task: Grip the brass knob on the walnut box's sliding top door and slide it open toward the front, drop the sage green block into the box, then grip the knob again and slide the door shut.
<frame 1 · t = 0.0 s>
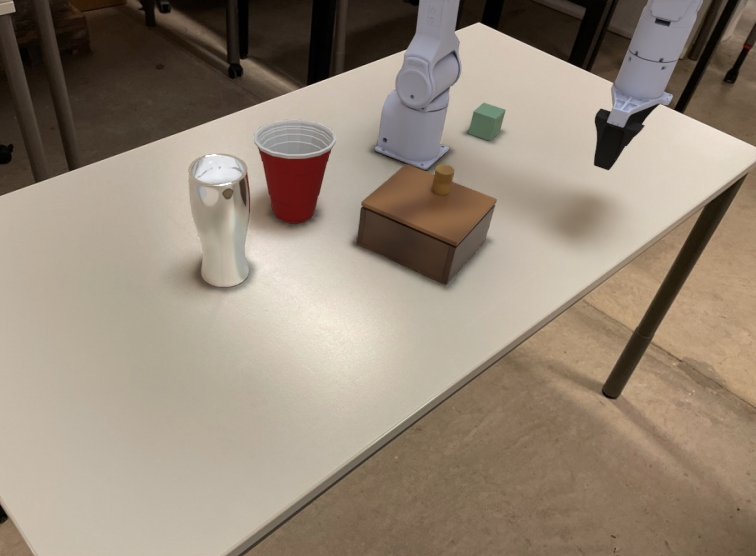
hand: (611, 154, 88), 10 cm above the table, tool pointing down, fingers open, 7 cm apart
box: (421, 242, 90), on the table
lid: (431, 192, 84), point 8 cm above the table, slide at 0.0 cm
beer glass: (225, 272, 84), on the table
plastic cup: (293, 212, 94), on the table
block: (484, 132, 111), on the table
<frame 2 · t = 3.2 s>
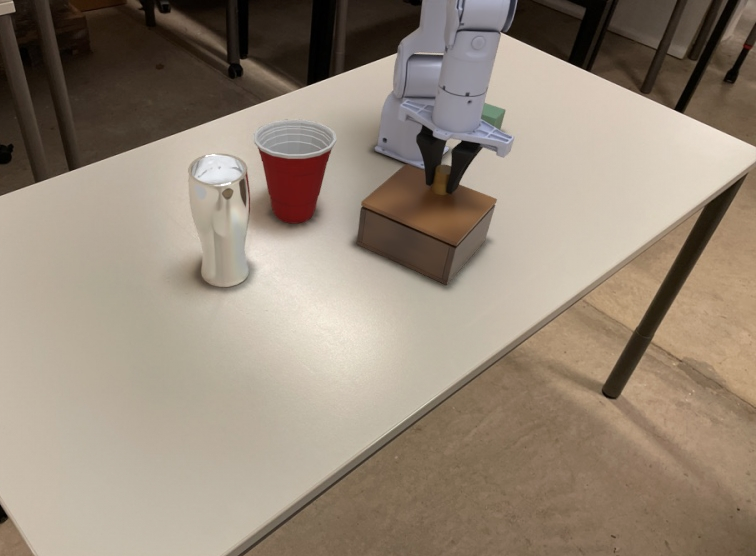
hand: (441, 185, 86), 7 cm above the table, tool pointing down, fingers closed on lid, 2 cm apart
lid: (431, 192, 84), point 8 cm above the table, slide at 0.0 cm, touching gripper
everything else where it was.
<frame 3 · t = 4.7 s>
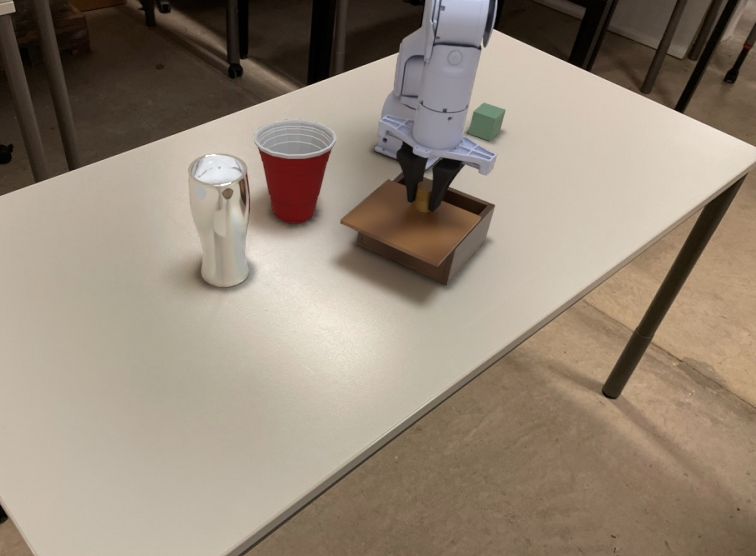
hand: (423, 202, 83), 7 cm above the table, tool pointing down, fingers closed on lid, 2 cm apart
lid: (412, 209, 81), point 8 cm above the table, slide at 4.9 cm, touching gripper
everything else where it was.
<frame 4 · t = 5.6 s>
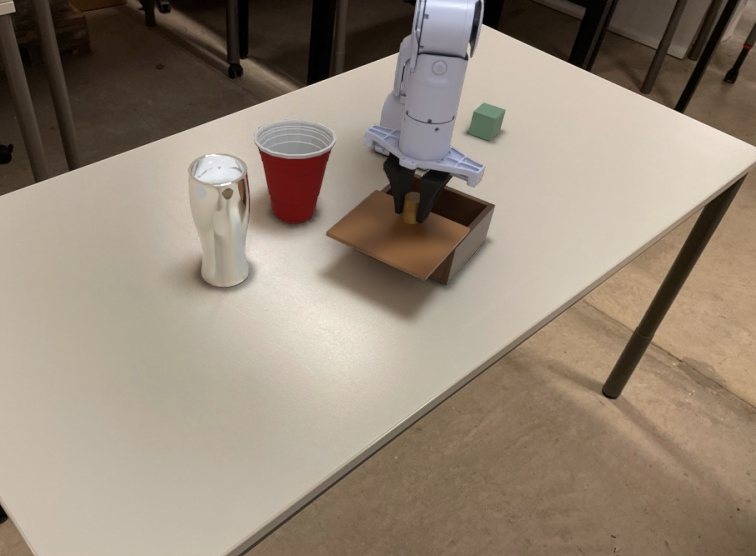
hand: (411, 214, 82), 7 cm above the table, tool pointing down, fingers closed on lid, 2 cm apart
lid: (400, 221, 79), point 8 cm above the table, slide at 8.0 cm, touching gripper
everything else where it was.
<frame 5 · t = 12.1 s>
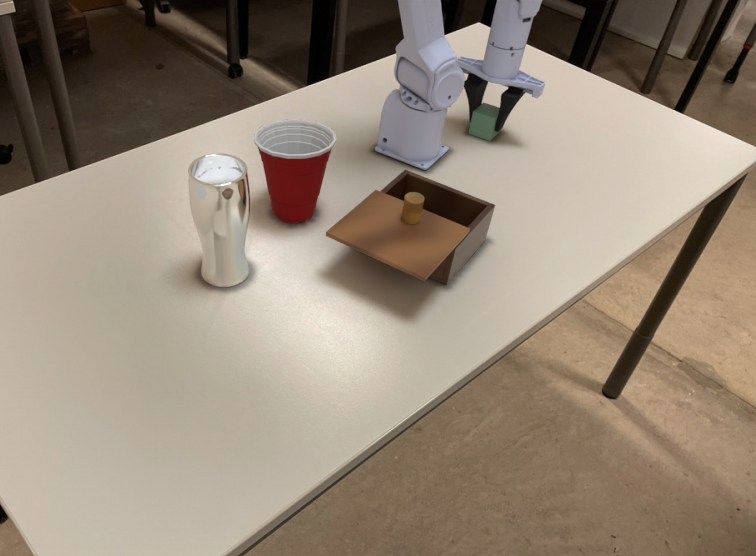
hand: (486, 124, 110), 1 cm above the table, tool pointing down, fingers closed on block, 4 cm apart
lid: (400, 221, 79), point 8 cm above the table, slide at 8.0 cm
block: (483, 132, 111), on the table, touching gripper
everything else where it was.
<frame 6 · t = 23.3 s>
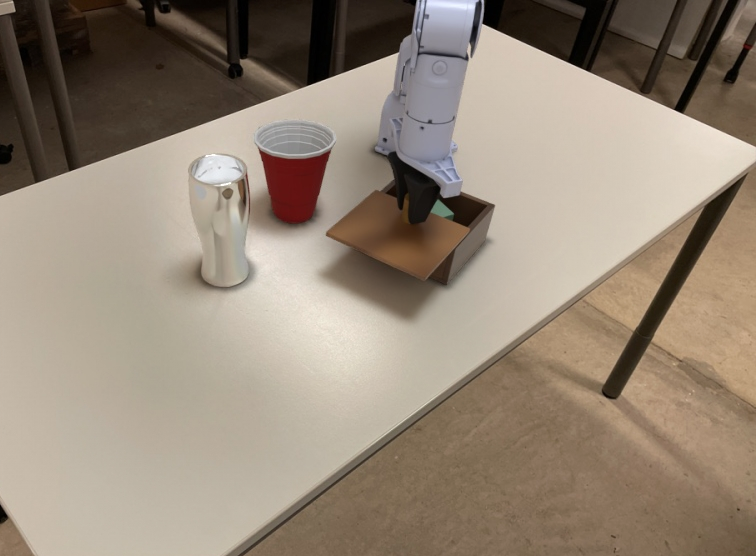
hand: (411, 214, 82), 7 cm above the table, tool pointing down, fingers closed on lid, 2 cm apart
lid: (400, 221, 79), point 8 cm above the table, slide at 8.0 cm, touching gripper
block: (428, 233, 90), point 1 cm above the table, touching box
everything else where it was.
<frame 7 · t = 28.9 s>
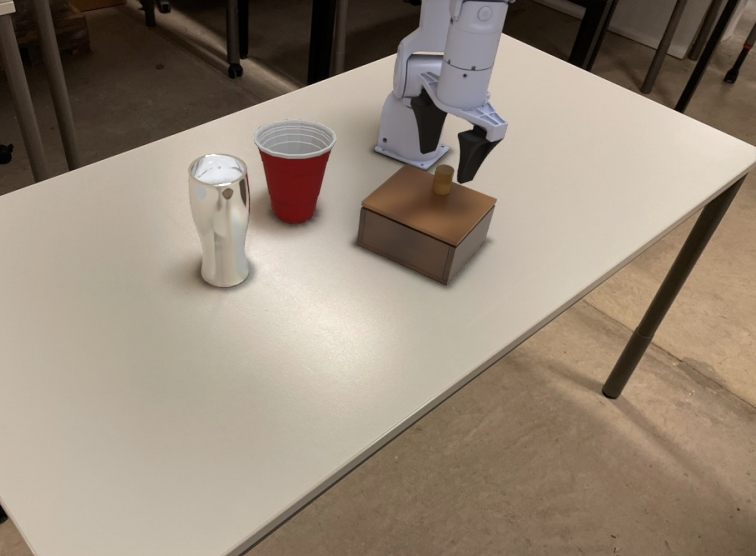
hand: (445, 165, 84), 10 cm above the table, tool pointing down, fingers open, 7 cm apart
lid: (431, 192, 84), point 8 cm above the table, slide at 0.0 cm
everything else where it was.
at the end: lid pulled out 8.1 cm at the most during the clip, back to where it started at the end; block inside the target area on the box (1.5 cm from its centre), point 0.6 cm above the box's base; lid slide at 0.0 cm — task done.
